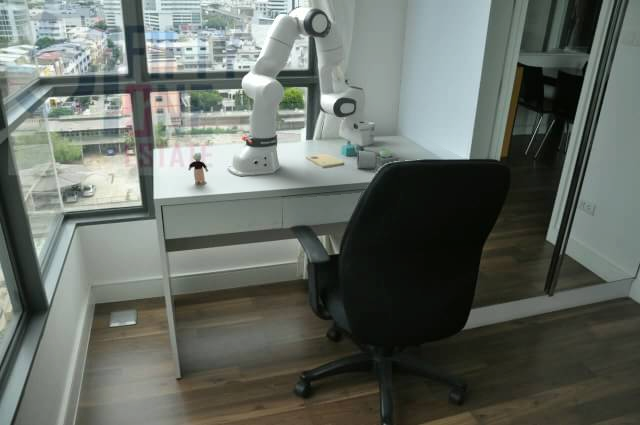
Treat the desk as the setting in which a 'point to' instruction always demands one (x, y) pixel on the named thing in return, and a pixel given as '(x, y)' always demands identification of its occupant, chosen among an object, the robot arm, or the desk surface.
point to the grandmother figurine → (198, 169)
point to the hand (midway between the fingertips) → (352, 150)
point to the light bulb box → (371, 130)
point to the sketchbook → (324, 160)
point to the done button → (385, 153)
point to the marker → (350, 150)
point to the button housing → (386, 159)
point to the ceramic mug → (366, 160)
